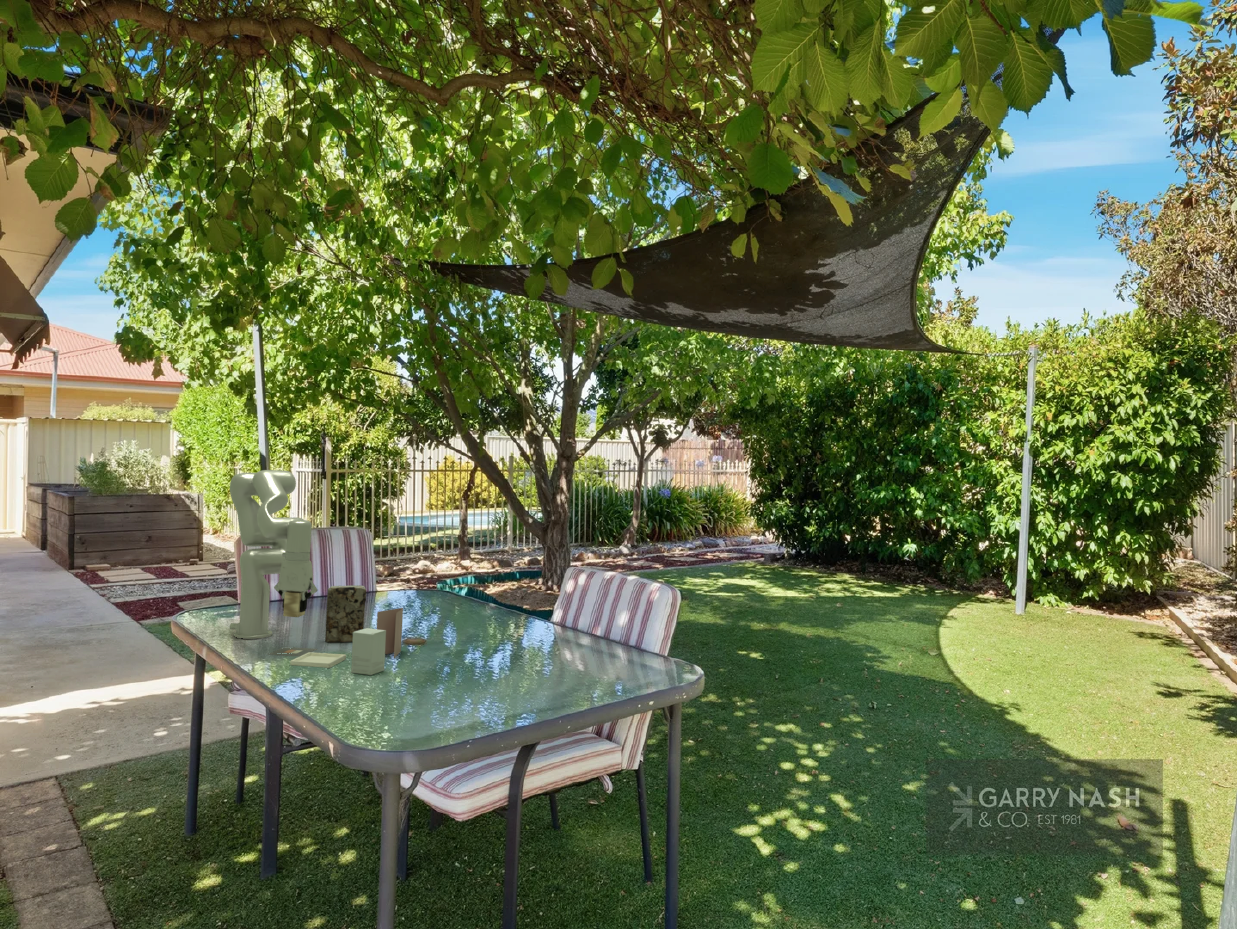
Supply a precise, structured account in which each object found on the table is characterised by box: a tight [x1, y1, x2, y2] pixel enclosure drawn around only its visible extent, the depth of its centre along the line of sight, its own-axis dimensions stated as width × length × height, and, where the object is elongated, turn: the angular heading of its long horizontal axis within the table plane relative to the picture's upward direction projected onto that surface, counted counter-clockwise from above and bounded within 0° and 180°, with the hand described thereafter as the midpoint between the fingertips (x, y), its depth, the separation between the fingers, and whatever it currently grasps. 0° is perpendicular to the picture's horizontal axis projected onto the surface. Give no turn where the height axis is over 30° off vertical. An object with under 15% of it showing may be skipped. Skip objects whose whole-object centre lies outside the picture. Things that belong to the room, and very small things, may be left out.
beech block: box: [282, 591, 306, 618], centre depth 265 cm, size 5×5×8 cm
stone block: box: [324, 584, 367, 644], centre depth 284 cm, size 13×7×20 cm, turn 118°
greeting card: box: [376, 607, 404, 659], centre depth 267 cm, size 11×7×15 cm, turn 149°
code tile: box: [266, 646, 318, 658], centre depth 265 cm, size 12×12×1 cm
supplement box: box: [350, 627, 386, 676], centre depth 244 cm, size 7×7×13 cm
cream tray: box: [289, 651, 347, 669], centre depth 253 cm, size 13×13×2 cm
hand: (294, 610), depth 265 cm, fingers closed on beech block, 5 cm apart
